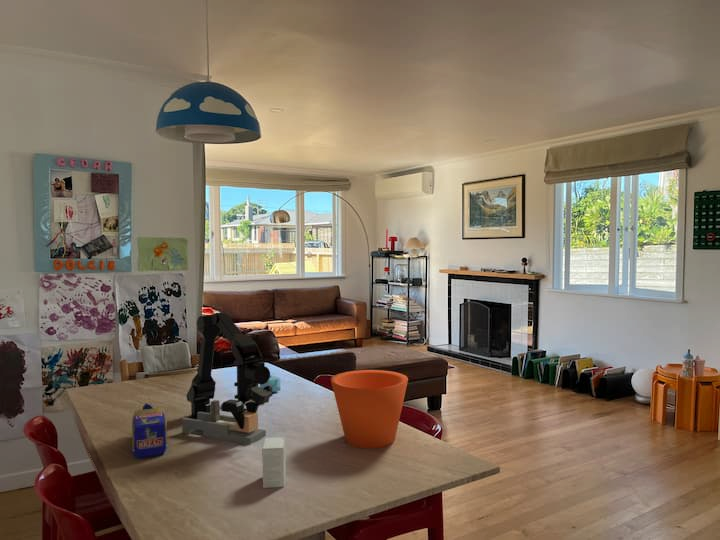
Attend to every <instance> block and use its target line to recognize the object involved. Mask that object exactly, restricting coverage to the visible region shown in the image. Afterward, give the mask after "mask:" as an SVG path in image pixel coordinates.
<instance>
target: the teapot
mask: <svg viewBox="0 0 720 540" xmlns="http://www.w3.org/2000/svg"><path fill="white" fill-rule="evenodd" d="M268 385H269V386H271V387H272V393H275V392H277V393H278V391H279V392H280V391H281V378H280V377H279V376H275V375H272V374H270V378H269V380H268V381H267V382H266V383H265V384H259V387H266V386H268Z"/></svg>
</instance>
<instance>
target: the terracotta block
mask: <svg viewBox="0 0 720 540" xmlns="http://www.w3.org/2000/svg"><path fill="white" fill-rule="evenodd" d="M255 429H259V413H258V412H256V413H255V412H248V411H246V412H245V415H244V428H243V429H240V427H239V425H238V423H237V422H236V431H242V432H248V433H249V432H251V431H253V430H255Z"/></svg>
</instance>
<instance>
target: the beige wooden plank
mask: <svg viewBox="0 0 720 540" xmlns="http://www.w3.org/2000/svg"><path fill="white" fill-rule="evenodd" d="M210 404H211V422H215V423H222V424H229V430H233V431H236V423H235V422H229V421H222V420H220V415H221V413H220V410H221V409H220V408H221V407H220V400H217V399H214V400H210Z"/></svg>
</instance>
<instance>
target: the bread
mask: <svg viewBox="0 0 720 540" xmlns="http://www.w3.org/2000/svg"><path fill="white" fill-rule="evenodd" d="M131 420H132V421H131V432H132V433H131V434H132V440H131V447H132V449H131V450H132V452H133V454H134V456H135V458H136V459H139V458H140V459H144V458H152V457H158V456H159V457H160V456H163V455H164V454H165V452H166V451H167V447H168V430H167V429H168V425H167V424H168V423H167V416H166V413H165V411H164V408H162V407H155V408H154V407H153V406H152V405H151V404H148V403H145V404H144V405H143V406H142V409H138V410H136V411H134V412H133V415H132V418H131Z"/></svg>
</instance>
